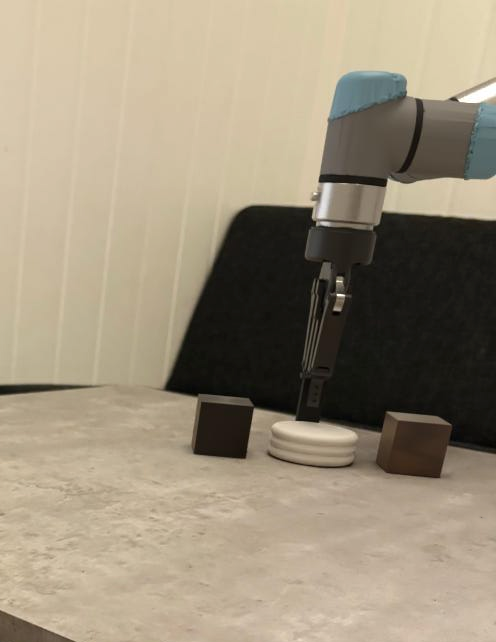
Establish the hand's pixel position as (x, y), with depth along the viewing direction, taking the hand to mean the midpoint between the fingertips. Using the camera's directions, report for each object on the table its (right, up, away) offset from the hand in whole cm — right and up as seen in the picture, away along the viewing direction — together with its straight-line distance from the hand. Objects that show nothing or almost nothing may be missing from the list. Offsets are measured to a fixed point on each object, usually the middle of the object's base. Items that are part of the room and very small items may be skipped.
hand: (305, 432), depth 124 cm
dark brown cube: (-12, -3, -5) cm, 13 cm away
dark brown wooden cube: (+10, -6, -6) cm, 13 cm away
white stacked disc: (-1, -4, -4) cm, 6 cm away
